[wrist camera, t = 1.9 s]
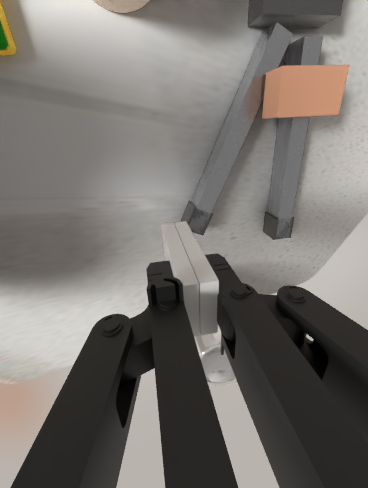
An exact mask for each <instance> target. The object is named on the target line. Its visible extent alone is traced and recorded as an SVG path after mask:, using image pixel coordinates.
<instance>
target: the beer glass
mask: <svg viewBox="0 0 368 488" xmlns="http://www.w3.org/2000/svg"><path fill="white" fill-rule="evenodd" d="M194 338H195V341H196V345H197V348H198V352H199V355H200V359H201V362H202V365H203V369H204V372H205V376H206V379H207V383H208V385H215V386H217V385H225V384H228V383H232V382H234V381H236V377H235V375H234V372H233V370H232V367H231V365H230V362H229V360H228V357H227V355H226V352H225V350H224V355H221V351H220V350H221V330H220V327H219V325H218V332H217V333H212V334H206V335H200V336H195V337H194Z"/></svg>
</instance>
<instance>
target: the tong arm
mask: <svg viewBox="0 0 368 488" xmlns="http://www.w3.org/2000/svg"><path fill="white" fill-rule="evenodd" d="M292 36H293V33H291V32H290V31H288V30H287V29H286V28H284V27H283V26H282V25H280V24H279V23H277V22H276V23H275V24H274V25H272V26H271V27H270V28H268V29H267V30H266V31H264V32H263V33H262V34H261V36H260V39H259V41H258V43H257V46H256V48H255V51H254V53H253V55H252V58H251V60H250V62H249V65H248V67H247V70H246V72H245V74H244V77H243V79H242V82H241V84H240V86H239V89H238V91H237V93H236V96H235V98H234V101H233V103H232V105H231V108H230V110H229V113H228V115H227V117H226V120H225V122H224V124H223V127H222V129H221V132H220V134H219V136H218V139H217V141H216V144H215V146H214V148H213V151H212V153H211V155H210V158H209V160H208V163H207V165H206V167H205V170H204V172H203V175H202V177H201V179H200V182H199V184H198V186H197V189H196V191H195V194H194V196H193V198H192V201H189V202H188V205H187V207H186V209H185V212H184V214H183V217H182V219H181V222H184V221H186V222H187V224H188V226H189V227H190V229H191V231H192V232H194V233H197V234H200V235H204V233H205V230H206V228H207V226H208V224H209V222H210V220H211V217H212V215H213V214H212V213H211V212H212V210H213V208H214V206H215V203H216V201H217V199H218V197H219V195H220V192H221V190H222V188H223V186H224V184H225V182H226V179H227V177H228V175H229V173H230V171H231V168H232V166H233V164H234V162H235V160H236V158H237V155H238V153H239V151H240V149H241V147H242V145H243V142H244V140H245V138H246V136H247V134H248V131H249V129H250V127H251V125H252V123H253V121H254V118H255V116H256V114H257V112H258V110H259V107H260V105H261V103H262V101H263V99H264V91H265V80H266V73H267V72H269V71H271V70H274V69H276V68H278V66H279V64H280V62H281V60H282V57H283V55H284V53H285V51H286V49H287V46H288V44H289V42H290V40H291V38H292Z"/></svg>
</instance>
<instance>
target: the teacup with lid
mask: <svg viewBox="0 0 368 488" xmlns="http://www.w3.org/2000/svg"><path fill="white" fill-rule="evenodd" d="M93 1H94V2H95V3H97V4H98V5H100V6H101V7H103V8H105V9H107V10H110V11H113V12H119V13H128V12H133V11H136V10H138V9H140V8H142V7H143V6H144V5H146V4H147V3H148V2H149V1H150V0H93Z"/></svg>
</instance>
